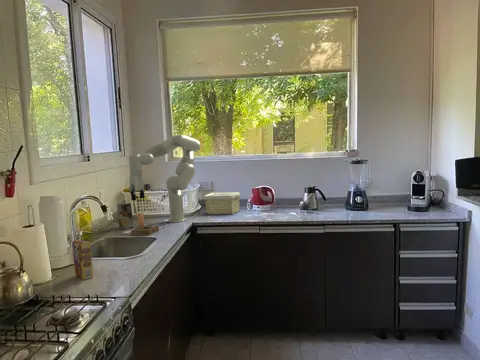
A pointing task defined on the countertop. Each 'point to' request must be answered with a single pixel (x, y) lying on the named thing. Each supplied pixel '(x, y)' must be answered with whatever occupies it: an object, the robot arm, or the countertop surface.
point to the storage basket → (222, 203)
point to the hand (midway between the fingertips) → (138, 199)
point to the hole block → (145, 230)
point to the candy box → (82, 259)
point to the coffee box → (125, 215)
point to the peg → (140, 219)
